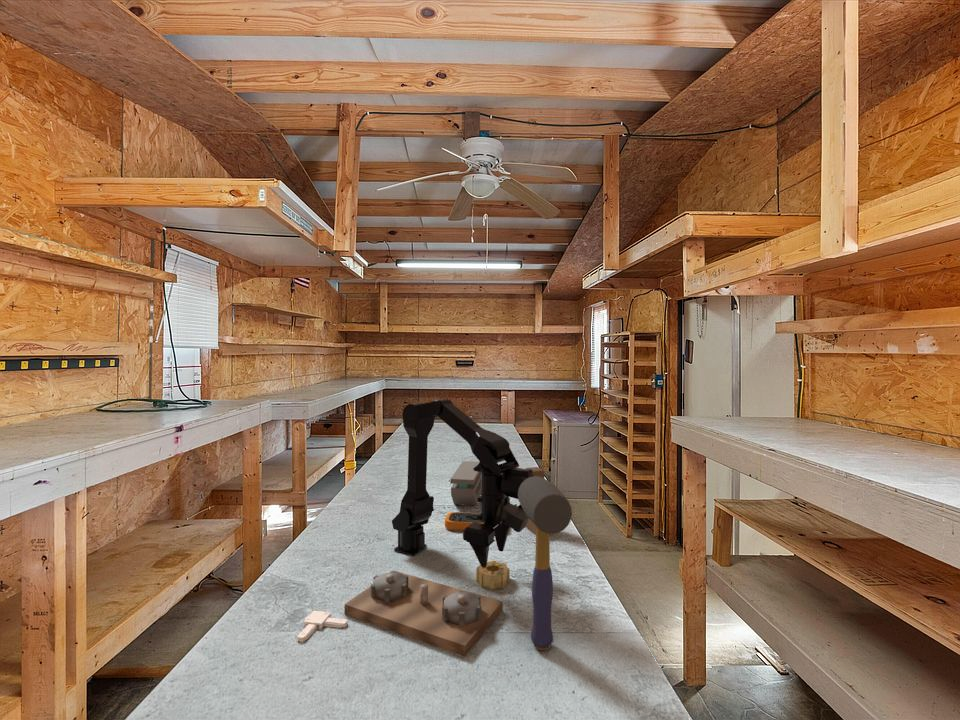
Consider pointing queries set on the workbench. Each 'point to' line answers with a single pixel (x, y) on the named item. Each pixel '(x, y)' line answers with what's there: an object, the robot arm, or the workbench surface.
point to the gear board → (426, 611)
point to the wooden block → (540, 473)
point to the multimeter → (460, 520)
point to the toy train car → (466, 484)
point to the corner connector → (319, 623)
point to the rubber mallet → (543, 548)
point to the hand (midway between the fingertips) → (492, 558)
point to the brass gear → (493, 575)
